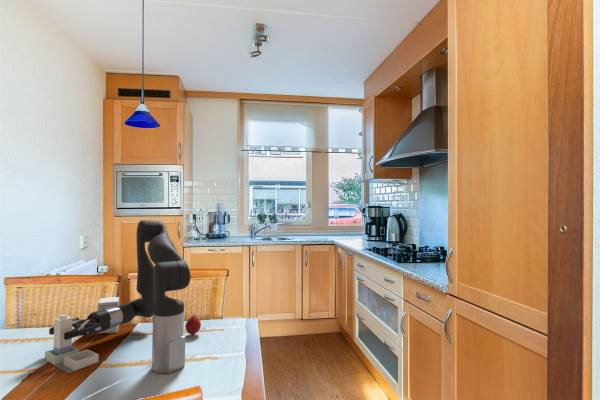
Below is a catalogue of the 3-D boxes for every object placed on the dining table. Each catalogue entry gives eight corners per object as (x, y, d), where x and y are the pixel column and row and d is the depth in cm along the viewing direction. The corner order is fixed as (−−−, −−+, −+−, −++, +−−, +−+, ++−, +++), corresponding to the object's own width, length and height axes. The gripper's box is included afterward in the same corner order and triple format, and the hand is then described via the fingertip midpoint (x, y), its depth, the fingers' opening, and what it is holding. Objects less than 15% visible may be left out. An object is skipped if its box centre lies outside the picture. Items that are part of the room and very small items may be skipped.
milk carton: (71, 357, 110) (72, 314, 110) (59, 361, 107) (60, 317, 107) (65, 354, 112) (66, 312, 112) (53, 358, 108) (54, 315, 109)
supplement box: (98, 329, 137) (99, 298, 137) (119, 326, 140) (119, 296, 140) (96, 335, 130) (97, 303, 130) (117, 332, 133) (118, 301, 134)
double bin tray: (99, 363, 107) (99, 354, 107) (68, 375, 99) (68, 365, 99) (73, 351, 116) (74, 342, 116) (44, 361, 108) (44, 351, 108)
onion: (195, 338, 128) (196, 317, 128) (182, 337, 129) (182, 316, 130) (203, 333, 134) (203, 313, 134) (190, 331, 135) (190, 312, 135)
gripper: (93, 306, 125) (45, 318, 111) (118, 312, 119) (69, 326, 105) (93, 326, 125) (44, 341, 111) (117, 333, 119) (69, 350, 104)
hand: (56, 334), depth 108 cm, fingers open, 8 cm apart
